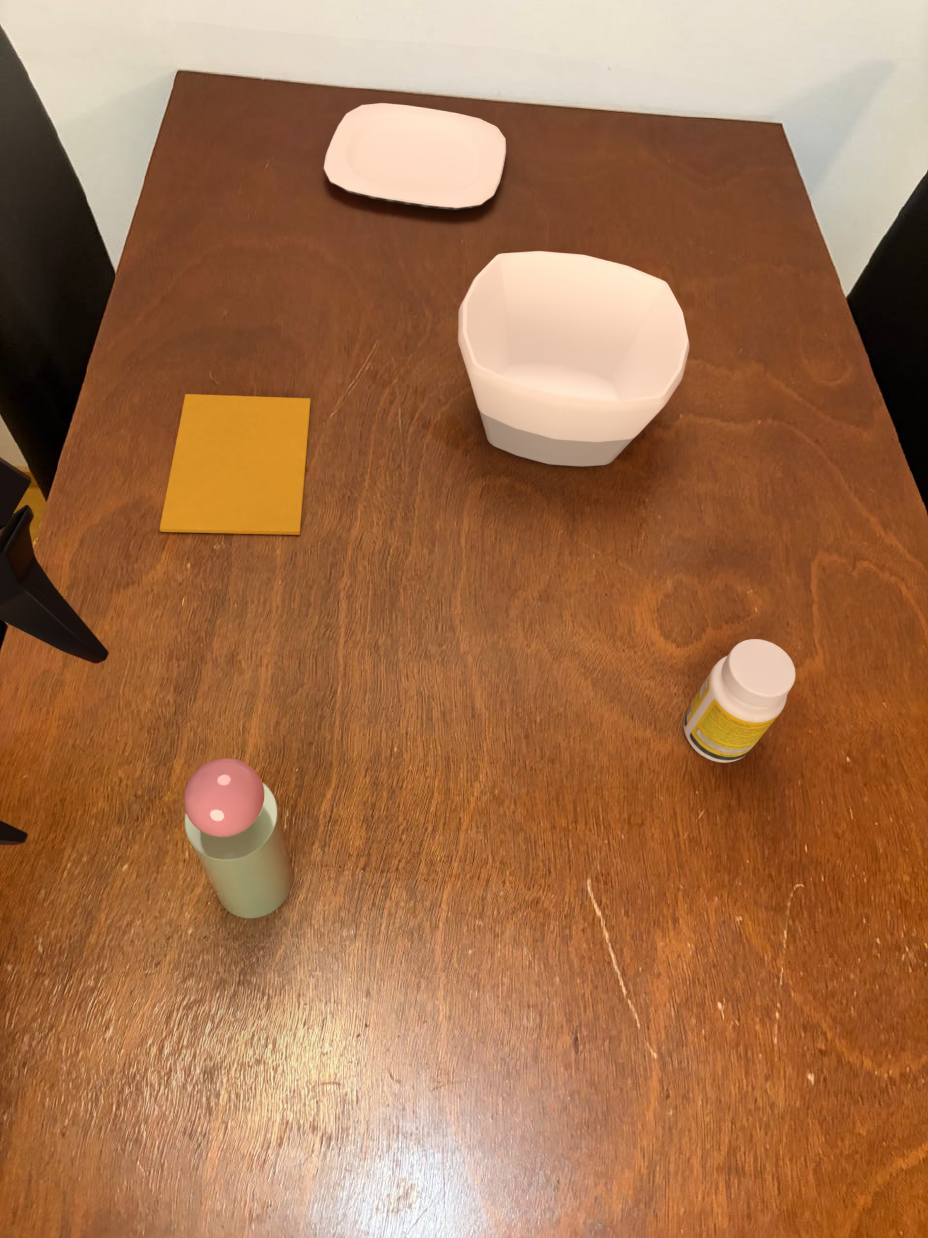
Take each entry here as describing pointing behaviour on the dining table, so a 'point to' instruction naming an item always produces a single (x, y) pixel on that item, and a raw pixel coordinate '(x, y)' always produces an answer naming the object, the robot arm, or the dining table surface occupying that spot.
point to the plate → (416, 156)
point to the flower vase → (238, 837)
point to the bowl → (569, 354)
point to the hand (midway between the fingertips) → (65, 743)
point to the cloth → (238, 466)
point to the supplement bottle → (739, 700)
